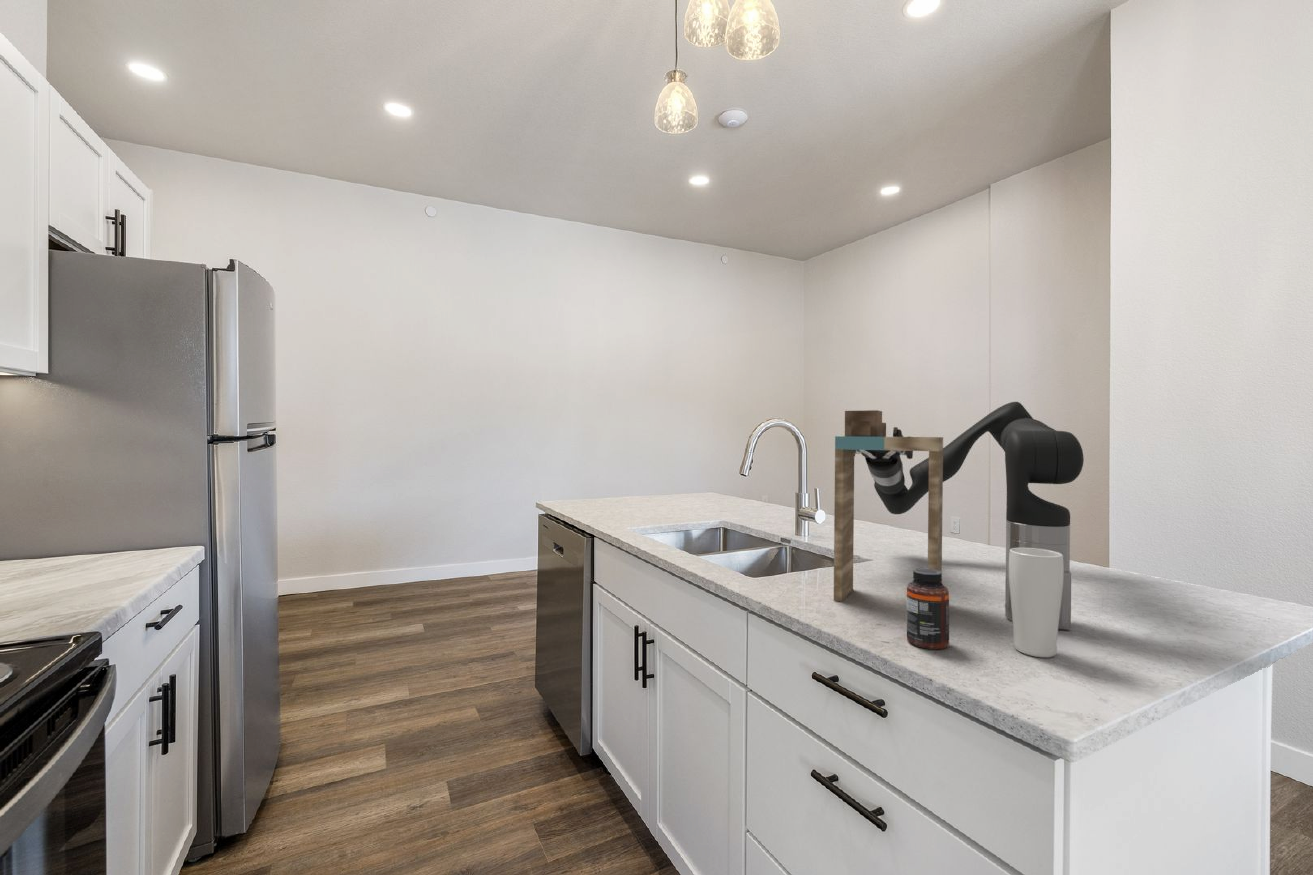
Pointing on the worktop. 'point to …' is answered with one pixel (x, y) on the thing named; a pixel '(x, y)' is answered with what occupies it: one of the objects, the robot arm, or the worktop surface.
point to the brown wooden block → (864, 424)
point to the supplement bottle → (927, 610)
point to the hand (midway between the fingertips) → (873, 430)
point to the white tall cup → (1035, 599)
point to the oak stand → (846, 500)
